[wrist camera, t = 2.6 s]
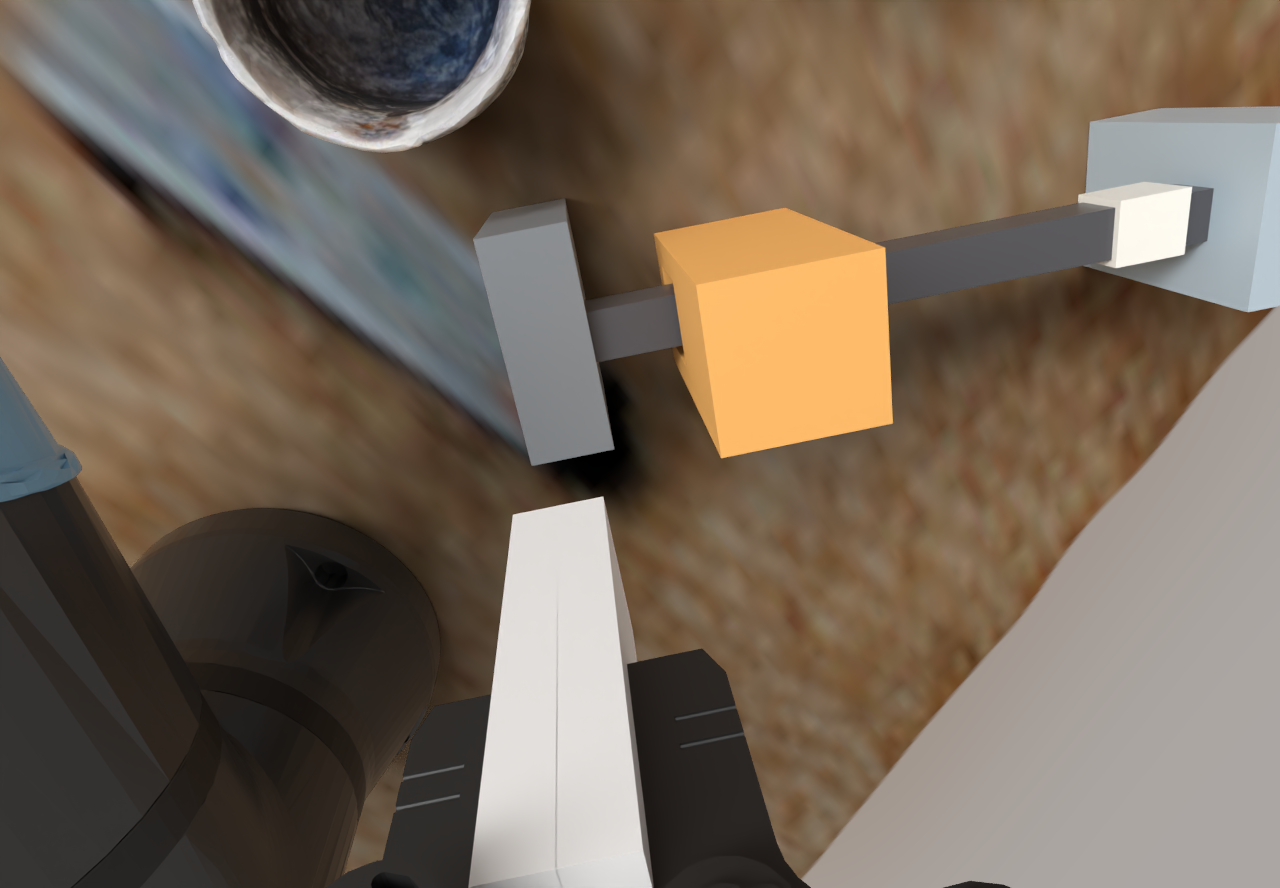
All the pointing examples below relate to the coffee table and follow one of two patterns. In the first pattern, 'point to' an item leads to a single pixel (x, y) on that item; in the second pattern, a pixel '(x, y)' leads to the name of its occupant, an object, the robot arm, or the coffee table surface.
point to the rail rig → (919, 258)
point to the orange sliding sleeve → (779, 328)
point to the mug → (371, 63)
